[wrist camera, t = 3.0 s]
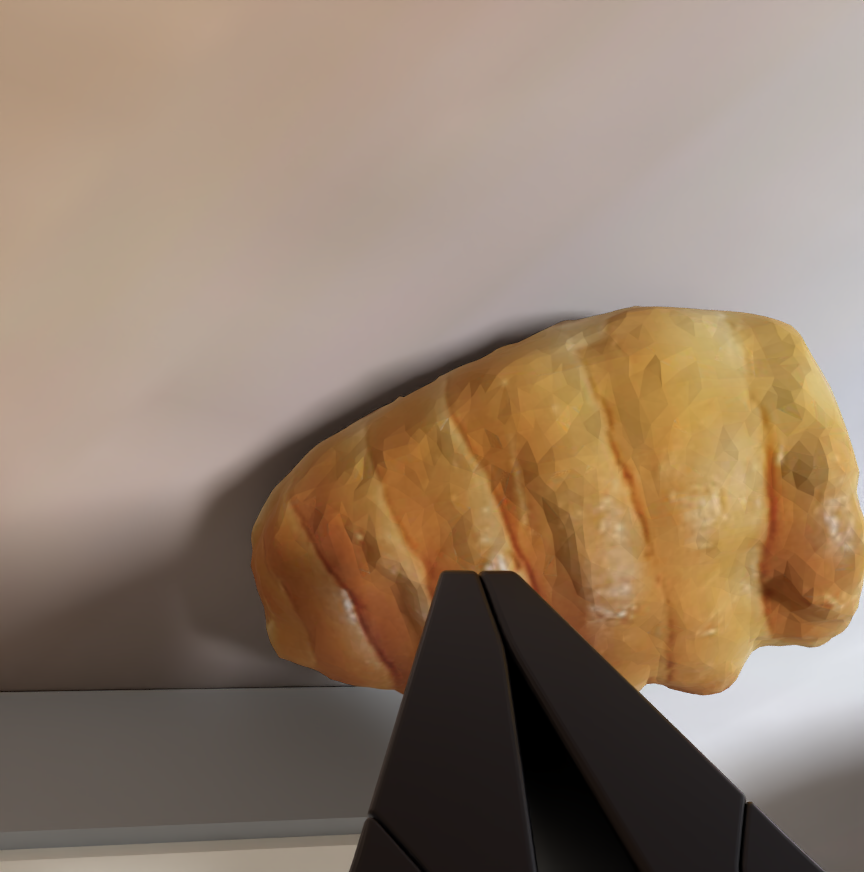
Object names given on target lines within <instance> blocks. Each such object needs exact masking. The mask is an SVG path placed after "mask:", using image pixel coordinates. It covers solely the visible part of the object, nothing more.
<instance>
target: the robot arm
mask: <svg viewBox="0 0 864 872" xmlns="http://www.w3.org/2000/svg"><path fill="white" fill-rule="evenodd" d="M745 802H746V798H745V795H744V794H743V793H742V792H741V791H740V790H739V789H738V788H737V787H736V786H735V785H734V784H733V783H732V782H731V781H730V780H729V779H728V778H727V777H726V776H725V775H724V774H723V773H722V772H721V771H720V770H719V769H718V768H717V767H716V766H715V765H713V764H712V763H711V762H710V761H709V760H708V759H707V758H706V757H705V756H704V755H703V754H702V753H701V752H700V751H699V750H698V749H697V748H696V747H695V746H694V745H693V744H692V743H691V742H690V741H689V740H688V739H687V738H686V737H685V736H684V735H683V734H682V733H681V732H680V731H679V730H678V729H677V728H676V727H675V726H673V725H672V724H671V723H670V722H669V721H668V720H667V719H666V718H665V717H664V716H663V715H662V714H661V713H660V712H659V711H658V710H657V709H656V708H655V707H654V706H653V705H652V704H651V703H650V702H649V701H648V700H647V699H646V698H645V697H644V696H643V695H642V694H641V693H640V692H639V691H638V690H637V689H636V688H635V687H633V686H632V685H631V684H630V683H629V682H628V681H627V680H626V679H625V678H624V677H623V676H622V675H621V674H620V673H619V672H618V671H617V670H616V669H615V668H614V667H613V666H612V665H611V664H610V663H609V662H608V661H607V660H606V659H605V658H604V657H603V656H602V655H601V654H600V653H599V652H598V651H597V650H596V649H595V648H593V647H592V646H591V645H590V644H589V643H588V642H587V641H586V640H585V639H584V638H583V637H582V636H581V635H580V634H579V633H578V632H577V631H576V630H575V629H574V628H573V627H572V626H571V625H570V624H569V623H568V622H567V621H566V620H565V619H564V618H563V617H562V616H561V615H560V614H559V613H558V612H557V611H556V610H555V609H553V608H552V607H551V606H550V605H549V604H548V603H547V602H546V601H545V600H544V599H543V598H542V597H541V596H540V595H539V594H538V593H537V592H536V591H535V590H534V589H533V588H532V587H531V586H530V585H529V584H528V583H527V582H526V581H525V580H524V579H523V578H522V577H521V576H520V575H518V574H517V573H516V572H514V571H505V570H484V571H482V572H480V573H479V574H477V573H476V572H474V571H472V570H444V571H443V572H441V574H440V576H439V579H438V582H437V585H436V589H435V592H434V595H433V599H432V602H431V605H430V608H429V612H428V615H427V618H426V622H425V625H424V628H423V632H422V635H421V638H420V641H419V645H418V648H417V651H416V655H415V658H414V661H413V665H412V668H411V671H410V675H409V678H408V681H407V684H406V688H405V691H404V694H403V698H402V701H401V704H400V708H399V711H398V714H397V717H396V721H395V724H394V727H393V731H392V734H391V737H390V741H389V744H388V747H387V750H386V754H385V757H384V760H383V764H382V767H381V770H380V774H379V777H378V780H377V783H376V787H375V790H374V793H373V797H372V800H371V803H370V807H369V810H368V814H367V819H366V820H365V822H364V825H363V828H362V831H361V835H360V838H359V841H358V844H357V848H356V851H355V854H354V858H353V861H352V864H351V867H350V870H349V872H825V871H824V870H823V869H822V868H821V867H820V866H819V865H818V864H817V863H816V862H815V861H814V860H812V859H811V858H810V857H809V856H808V855H807V854H806V853H805V852H804V851H803V850H802V849H801V848H800V847H799V846H798V845H796V844H795V843H794V842H793V841H792V840H791V839H790V838H789V837H788V836H787V835H786V834H785V833H784V832H783V831H782V830H781V829H780V828H779V827H778V826H777V825H775V824H774V823H773V822H772V821H771V820H770V819H769V818H768V817H767V816H766V815H765V814H764V813H763V812H762V811H761V810H760V809H759V808H758V807H757V806H756V805H755V804H754V803H752V802H747V803H746V804H745Z"/></svg>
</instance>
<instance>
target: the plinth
mask: <svg viewBox="0 0 864 872" xmlns="http://www.w3.org/2000/svg"><path fill="white" fill-rule="evenodd" d="M402 698H403V694H401V693H399V692H397V691H395V690H384V689H376V688H370V687H300V688H237V689H174V690H111V691H48V692H0V872H349V870H350V867H351V864H352V861H353V858H354V854H355V851H356V848H357V844H358V841H359V838H360V835H361V831H362V828H363V825H364V822H365V820H366V819H367V814H368V810H369V807H370V803H371V800H372V797H373V793H374V790H375V787H376V783H377V780H378V777H379V774H380V770H381V767H382V764H383V760H384V757H385V754H386V750H387V747H388V744H389V741H390V737H391V734H392V731H393V727H394V724H395V721H396V717H397V714H398V711H399V708H400V704H401V701H402Z"/></svg>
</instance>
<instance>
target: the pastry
mask: <svg viewBox="0 0 864 872" xmlns="http://www.w3.org/2000/svg"><path fill="white" fill-rule="evenodd" d="M858 477H859V469H858V466H857V462H856V458H855V455H854V451H853V448H852V445H851V442H850V438H849V435H848V432H847V429H846V426H845V424H844V421H843V418H842V415H841V412H840V410H839V407H838V405H837V402H836V400H835V397H834V395H833V392H832V390H831V387H830V385H829V384H828V382H827V380H826V378H825V376H824V375H823V373H822V371H821V370H820V368H819V366H818V365H817V363H816V361H815V360H814V358H813V356H812V355H811V353H810V351H809V349H808V348H807V346H806V344H805V342H804V340H803V339H802V337H801V335H800V334H799V333H798V332H797V331H796V330H795V329H794V328H793V327H792V326H791V325H788V324H786V323H784V322H781V321H779V320H775V319H772V318H768V317H765V316H760V315H755V314H749V313H743V312H732V311H718V310H702V309H690V308H676V307H640V306H633V307H630V308H624V309H620V310H616V311H613V312H609V313H605V314H601V315H596V316H592V317H587V318H583V319H578V320H566V321H562V322H560V323H558V324H555V325H553V326H551V327H549V328H547V329H545V330H542V331H540V332H538V333H536V334H534V335H532V336H530V337H528V338H526V339H524V340H522V341H520V342H518V343H514V344H510V345H506V346H503V347H501V348H499V349H496V350H495V351H493V352H492V353H490V354H489V355H487V356H485V357H483V358H481V359H479V360H476V361H474V362H471V363H468V364H465V365H463V366H460V367H458V368H456V369H454V370H452V371H450V372H448V373H446V374H444V375H441V376H439V377H438V378H437V379H436V380H435V381H434V382H432V383H430V384H428V385H426V386H424V387H422V388H420V389H418V390H416V391H415V392H413V393H411V394H409V395H407V396H405V397H401V396H399V397H398V398H397V399H396V400H395V401H394V402H392V403H390V404H388V405H386V406H383V407H381V408H379V409H377V410H375V411H374V412H372V413H370V414H368V415H366V416H365V417H363V418H361V419H359V420H358V421H356V422H354V423H353V424H351V425H350V426H348V427H347V428H345V429H343V430H342V431H340V432H338V433H336V434H335V435H333V436H331V437H329V438H327V439H326V440H324V441H322V442H321V443H319V444H318V445H316V446H315V447H314V448H313V449H311V450H310V451H309V452H308V453H307V454H306V455H305V456H304V457H303V458H302V460H301V461H300V462H299V463H298V464H297V465H296V466H295V467H294V469H293V470H292V471H291V472H290V473H289V474H288V475H287V476H286V477H285V478H284V479H283V480H282V481H281V482H280V483H279V484H278V485H277V486H276V487H275V488H274V489H273V490H272V492H271V494H270V495H269V497H268V499H267V500H266V502H265V504H264V505H263V507H262V509H261V511H260V513H259V515H258V517H257V520H256V522H255V524H254V526H253V529H252V533H251V543H252V549H253V551H252V559H251V569H252V572H253V575H254V578H255V583H256V587H257V591H258V593H259V596H260V598H261V601H262V604H263V606H264V610H265V617H266V629H267V633H268V636H269V640H270V643H271V645H272V646H273V648H274V650H275V651H276V653H277V655H278V656H279V658H282V659H286V660H288V661H291V662H294V663H296V664H299V665H301V666H305V667H308V668H311V669H314V670H317V671H319V672H320V673H322V674H323V675H325V676H327V677H328V678H330V679H332V680H336V681H339V682H343V683H346V684H349V685H353V686H357V687H370V688H376V689H384V690H395V691H397V692H399V693H401V694H404V691H405V688H406V684H407V681H408V678H409V675H410V671H411V668H412V665H413V661H414V658H415V655H416V651H417V648H418V645H419V641H420V638H421V635H422V632H423V628H424V625H425V622H426V618H427V615H428V612H429V608H430V605H431V602H432V599H433V595H434V592H435V589H436V585H437V582H438V579H439V576H440V574H441V572H443V571H444V570H472V571H474V572H476V573H477V574H479V573H480V572H482V571H484V570H505V571H514V572H516V573H517V574H518V575H520V576H521V577H522V578H523V579H524V580H525V581H526V582H527V583H528V584H529V585H530V586H531V587H532V588H533V589H534V590H535V591H536V592H537V593H538V594H539V595H540V596H541V597H542V598H543V599H544V600H545V601H546V602H547V603H548V604H549V605H550V606H551V607H552V608H553V609H555V610H556V611H557V612H558V613H559V614H560V615H561V616H562V617H563V618H564V619H565V620H566V621H567V622H568V623H569V624H570V625H571V626H572V627H573V628H574V629H575V630H576V631H577V632H578V633H579V634H580V635H581V636H582V637H583V638H584V639H585V640H586V641H587V642H588V643H589V644H590V645H591V646H592V647H593V648H595V649H596V650H597V651H598V652H599V653H600V654H601V655H602V656H603V657H604V658H605V659H606V660H607V661H608V662H609V663H610V664H611V665H612V666H613V667H614V668H615V669H616V670H617V671H618V672H619V673H620V674H621V675H622V676H623V677H624V678H625V679H626V680H627V681H628V682H629V683H630V684H631V685H632V686H633V687H635V688H636V689H637V690H638V691H640V690H641V689H642V688H643V687H644V686H645V685H646V684H652V683H655V684H661V685H664V686H666V687H668V688H670V689H674V690H678V691H682V692H686V693H691V694H698V695H710V694H715V693H720V692H722V691H724V690H726V689H727V688H729V687H730V686H731V685H732V684H733V683H734V682H735V681H736V679H737V677H738V675H739V673H740V671H741V669H742V667H743V665H744V663H745V662H746V660H747V659H748V657H749V655H750V654H751V652H752V651H754V650H756V649H757V648H759V647H762V646H768V645H769V646H786V645H800V646H805V647H818V646H821V645H823V644H824V643H826V642H828V641H829V640H830V639H831V638H832V637H834V636H836V635H838V634H840V633H841V632H843V631H844V630H845V629H846V628H847V626H848V625H849V623H850V621H851V618H852V616H853V615H854V613H855V611H856V610H857V608H858V604H859V598H860V594H861V590H862V586H863V579H864V517H863V514H862V511H861V508H860V504H859V500H858V495H857V485H858Z"/></svg>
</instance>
